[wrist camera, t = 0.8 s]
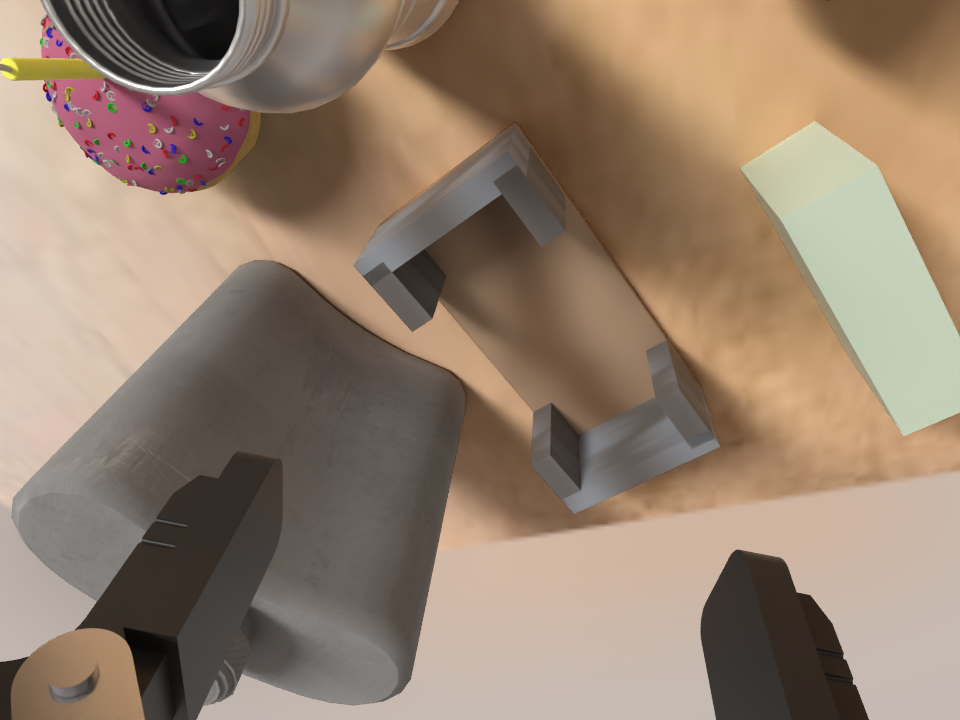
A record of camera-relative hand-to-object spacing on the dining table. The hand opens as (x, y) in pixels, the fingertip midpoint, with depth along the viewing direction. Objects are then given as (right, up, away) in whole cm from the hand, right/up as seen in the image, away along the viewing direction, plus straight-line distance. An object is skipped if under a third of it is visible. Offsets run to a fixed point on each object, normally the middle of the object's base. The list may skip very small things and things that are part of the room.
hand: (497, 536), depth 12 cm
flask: (-8, +3, +27) cm, 28 cm away
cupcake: (-13, +16, +19) cm, 29 cm away
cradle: (+3, +6, +24) cm, 25 cm away
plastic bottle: (-4, +20, +16) cm, 26 cm away
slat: (+17, +8, +21) cm, 28 cm away
